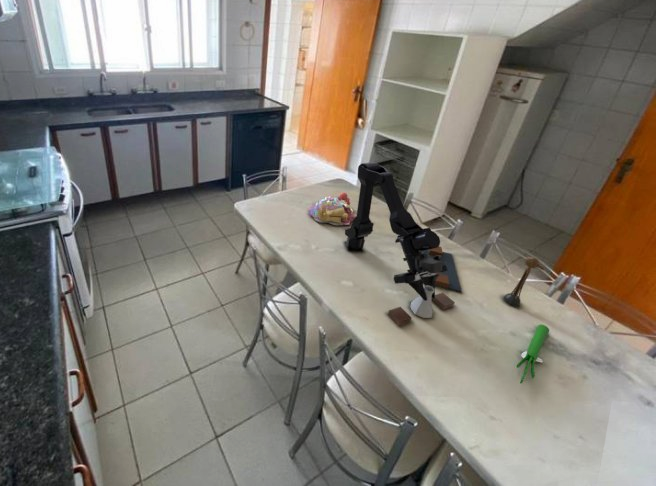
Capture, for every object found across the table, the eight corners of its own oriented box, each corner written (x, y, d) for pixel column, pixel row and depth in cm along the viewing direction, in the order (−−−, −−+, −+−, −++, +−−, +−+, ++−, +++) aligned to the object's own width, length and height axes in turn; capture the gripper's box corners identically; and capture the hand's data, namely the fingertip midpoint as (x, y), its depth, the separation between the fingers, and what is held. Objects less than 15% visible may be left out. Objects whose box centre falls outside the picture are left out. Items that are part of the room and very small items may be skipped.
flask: (435, 320, 109) (444, 298, 105) (412, 316, 110) (420, 294, 106) (429, 304, 116) (437, 283, 111) (407, 300, 117) (415, 279, 112)
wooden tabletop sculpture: (525, 306, 117) (550, 262, 108) (518, 310, 115) (543, 266, 106) (507, 295, 122) (529, 251, 113) (500, 299, 120) (523, 255, 111)
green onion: (533, 328, 109) (508, 380, 91) (538, 321, 108) (513, 372, 89) (551, 338, 106) (529, 394, 87) (556, 331, 105) (535, 386, 86)
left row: (387, 314, 111) (389, 310, 110) (441, 296, 120) (442, 292, 119) (398, 326, 107) (400, 321, 106) (453, 306, 115) (454, 302, 115)
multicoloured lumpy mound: (360, 228, 158) (364, 211, 154) (311, 225, 158) (314, 209, 154) (348, 203, 180) (351, 188, 176) (305, 200, 180) (307, 185, 176)
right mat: (419, 282, 126) (421, 277, 124) (416, 246, 147) (417, 241, 145) (460, 293, 121) (463, 287, 120) (450, 254, 142) (453, 249, 141)
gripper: (409, 255, 103) (427, 306, 98) (451, 243, 109) (470, 291, 105) (385, 259, 113) (401, 306, 108) (426, 249, 119) (442, 292, 115)
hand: (429, 299), depth 109 cm, fingers closed on flask, 3 cm apart
